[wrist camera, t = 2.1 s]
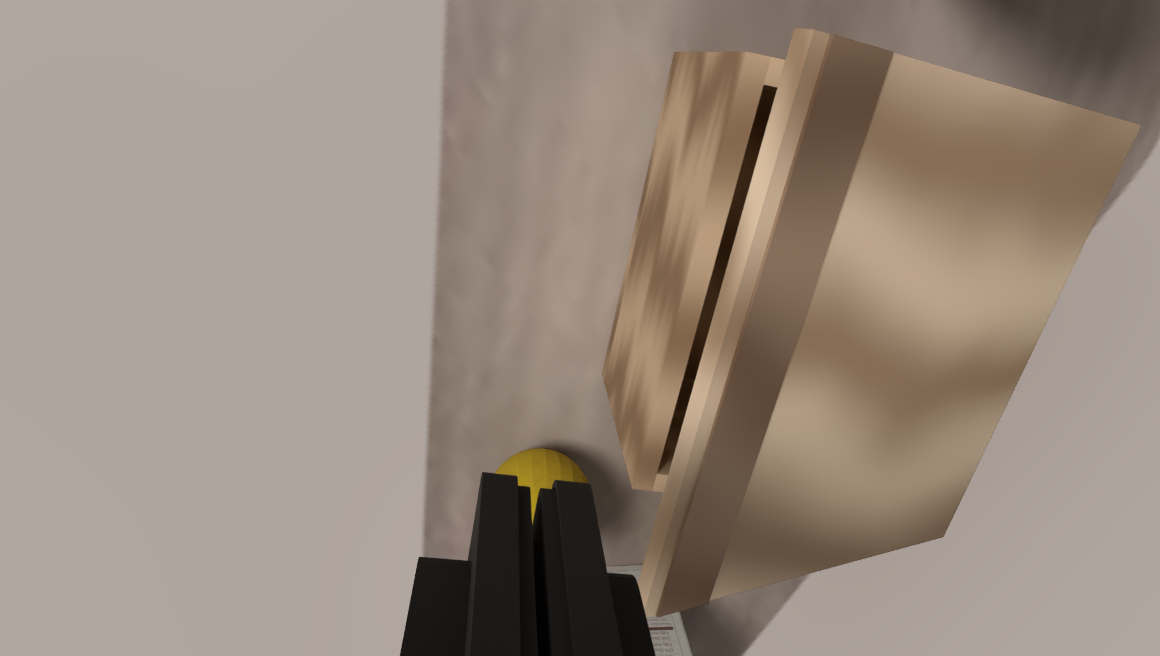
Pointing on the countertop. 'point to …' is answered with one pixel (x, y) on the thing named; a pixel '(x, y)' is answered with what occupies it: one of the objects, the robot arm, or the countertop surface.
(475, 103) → the countertop surface
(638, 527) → the countertop surface
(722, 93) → the light brown boxy piece
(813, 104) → the lid flap
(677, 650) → the supplement box
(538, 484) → the lemon
